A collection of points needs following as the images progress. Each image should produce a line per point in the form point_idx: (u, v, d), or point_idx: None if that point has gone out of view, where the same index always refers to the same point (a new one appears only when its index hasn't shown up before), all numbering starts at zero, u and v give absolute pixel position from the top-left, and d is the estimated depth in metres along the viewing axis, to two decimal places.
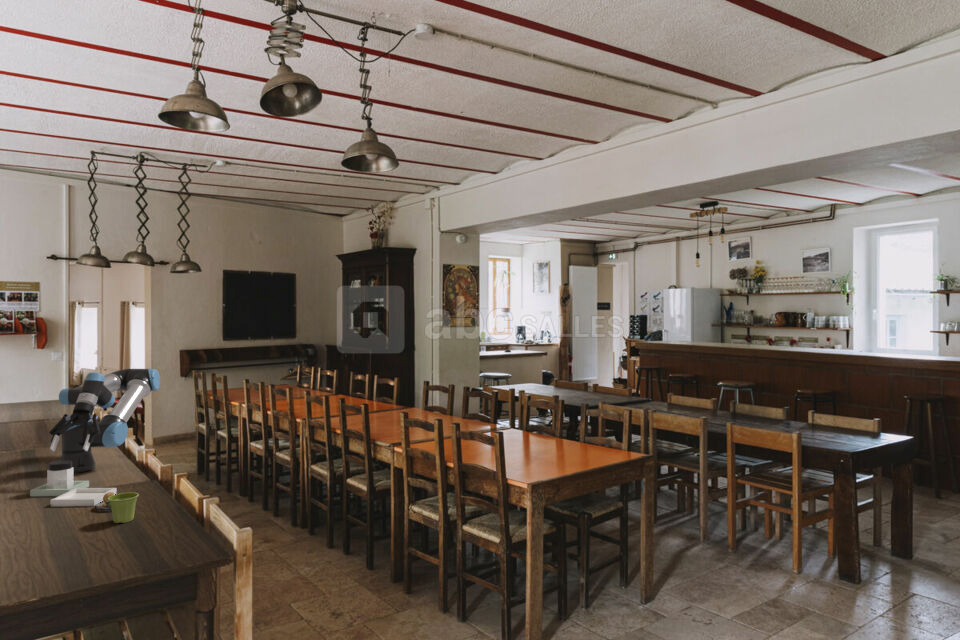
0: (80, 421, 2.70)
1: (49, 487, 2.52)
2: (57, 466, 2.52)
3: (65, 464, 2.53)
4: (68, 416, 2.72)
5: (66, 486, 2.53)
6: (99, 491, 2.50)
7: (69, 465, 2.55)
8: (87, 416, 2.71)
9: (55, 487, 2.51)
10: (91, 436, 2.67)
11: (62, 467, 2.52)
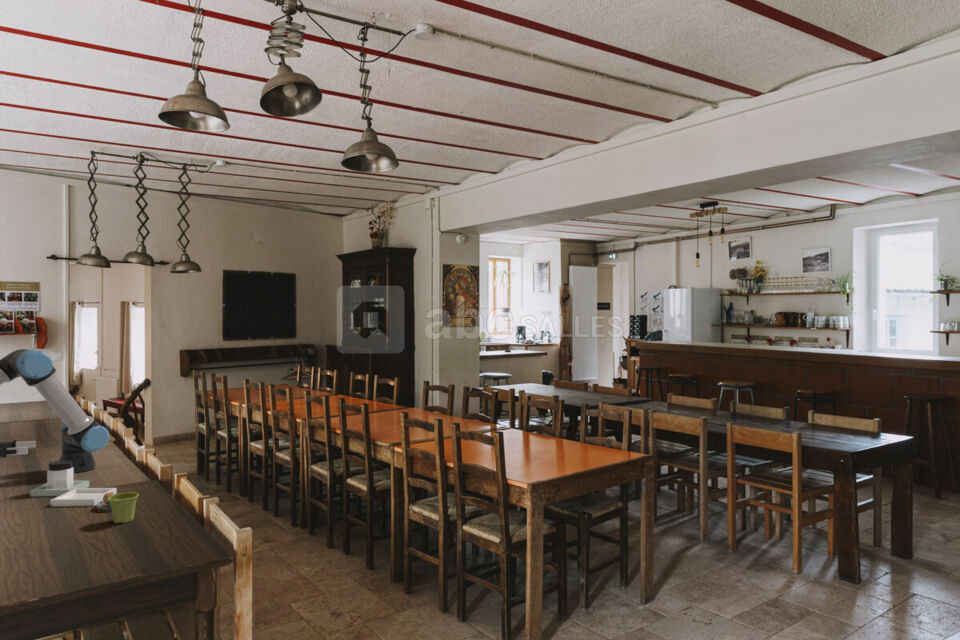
0: None
1: (49, 487, 2.52)
2: (57, 466, 2.52)
3: (65, 464, 2.53)
4: None
5: (66, 486, 2.53)
6: (99, 491, 2.50)
7: (69, 465, 2.55)
8: None
9: (55, 487, 2.51)
10: (8, 453, 2.41)
11: (62, 467, 2.52)
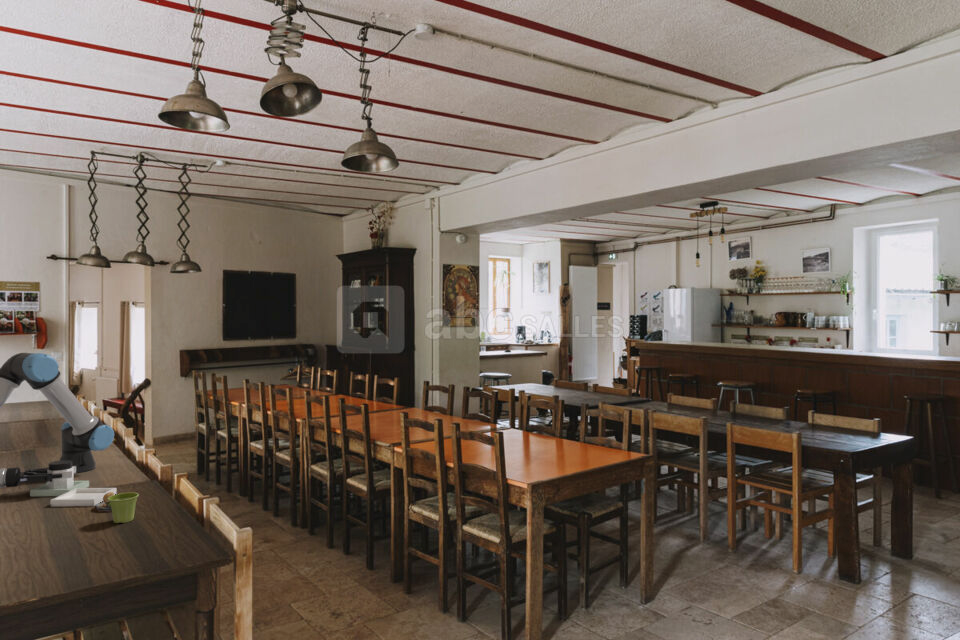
0: None
1: (49, 487, 2.52)
2: (57, 466, 2.52)
3: (65, 464, 2.53)
4: None
5: (66, 486, 2.53)
6: (99, 491, 2.50)
7: (69, 465, 2.55)
8: None
9: (55, 487, 2.51)
10: (54, 478, 2.50)
11: (62, 467, 2.52)
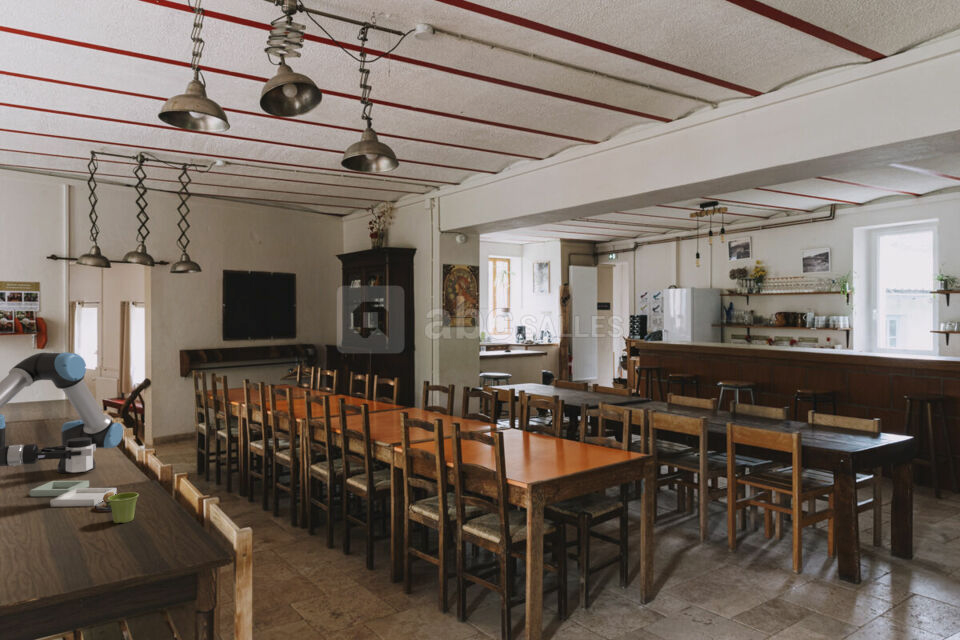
0: None
1: (67, 465, 2.40)
2: (76, 443, 2.39)
3: (84, 441, 2.41)
4: None
5: (85, 464, 2.41)
6: (99, 491, 2.50)
7: (88, 442, 2.43)
8: None
9: (74, 465, 2.39)
10: None
11: (81, 444, 2.40)
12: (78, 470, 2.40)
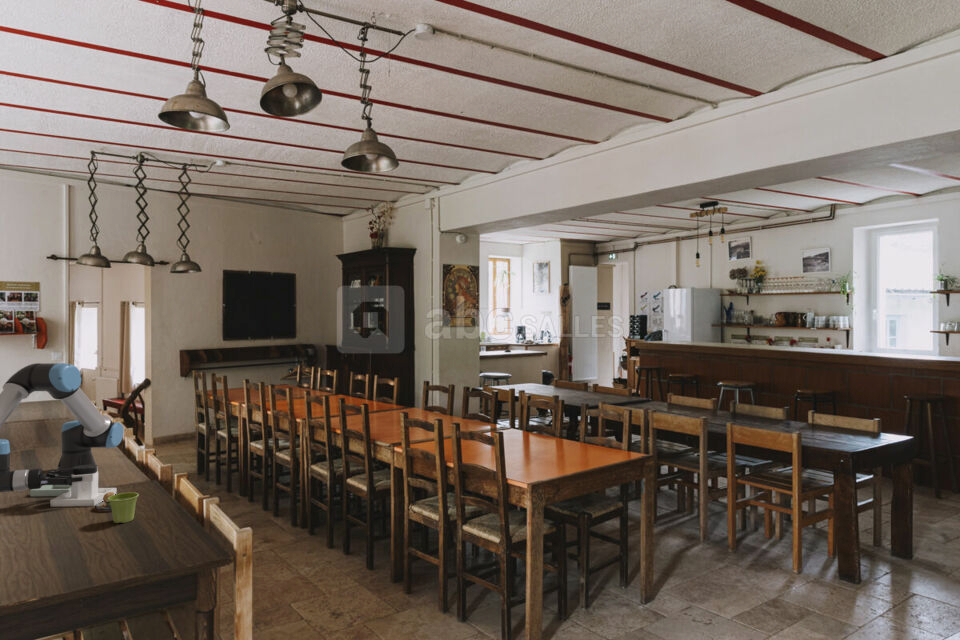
0: None
1: (73, 492, 2.40)
2: (82, 470, 2.40)
3: (90, 468, 2.41)
4: None
5: (91, 492, 2.41)
6: (99, 491, 2.50)
7: (94, 469, 2.43)
8: None
9: (79, 492, 2.39)
10: None
11: (87, 471, 2.41)
12: (84, 497, 2.40)
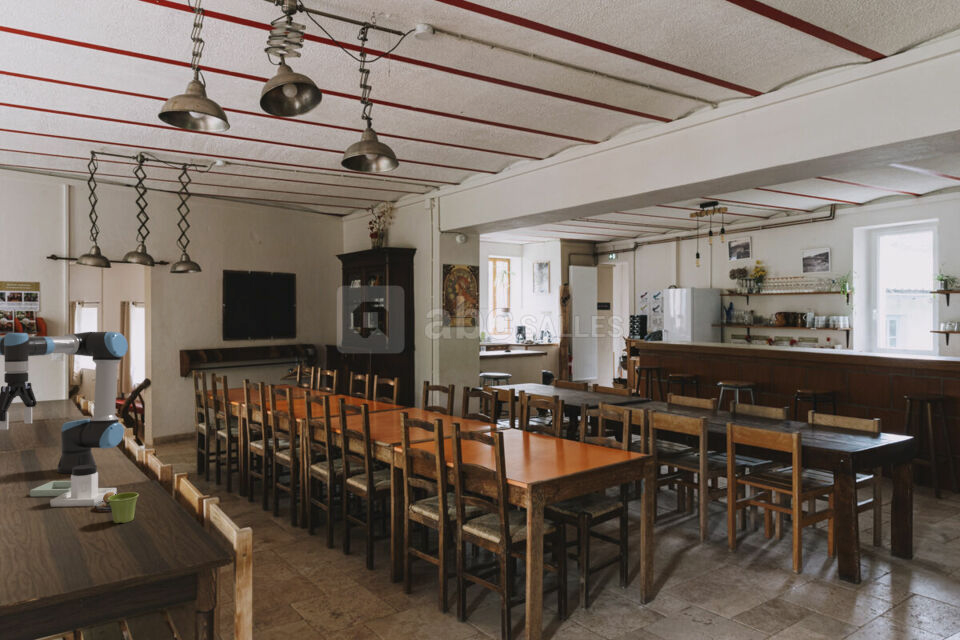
0: None
1: (73, 493, 2.40)
2: (81, 471, 2.40)
3: (89, 469, 2.41)
4: None
5: (90, 492, 2.41)
6: (99, 491, 2.50)
7: (94, 470, 2.43)
8: None
9: (79, 493, 2.39)
10: None
11: (86, 472, 2.40)
12: (84, 498, 2.40)
